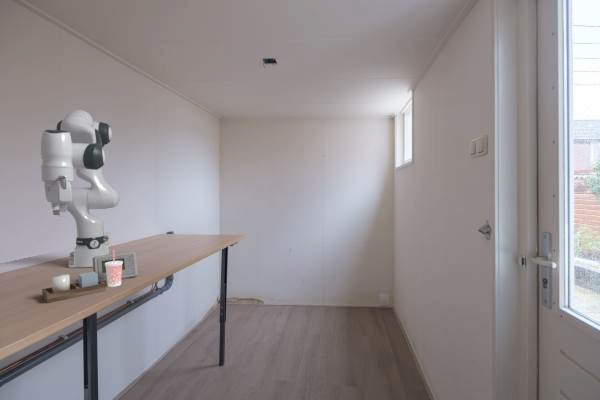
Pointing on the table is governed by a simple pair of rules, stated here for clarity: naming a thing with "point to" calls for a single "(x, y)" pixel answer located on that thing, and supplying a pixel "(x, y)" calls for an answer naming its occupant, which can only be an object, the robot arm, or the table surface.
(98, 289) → the organiser base
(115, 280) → the beverage cup
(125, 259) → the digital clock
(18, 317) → the table surface
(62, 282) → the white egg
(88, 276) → the blue cube
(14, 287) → the table surface
